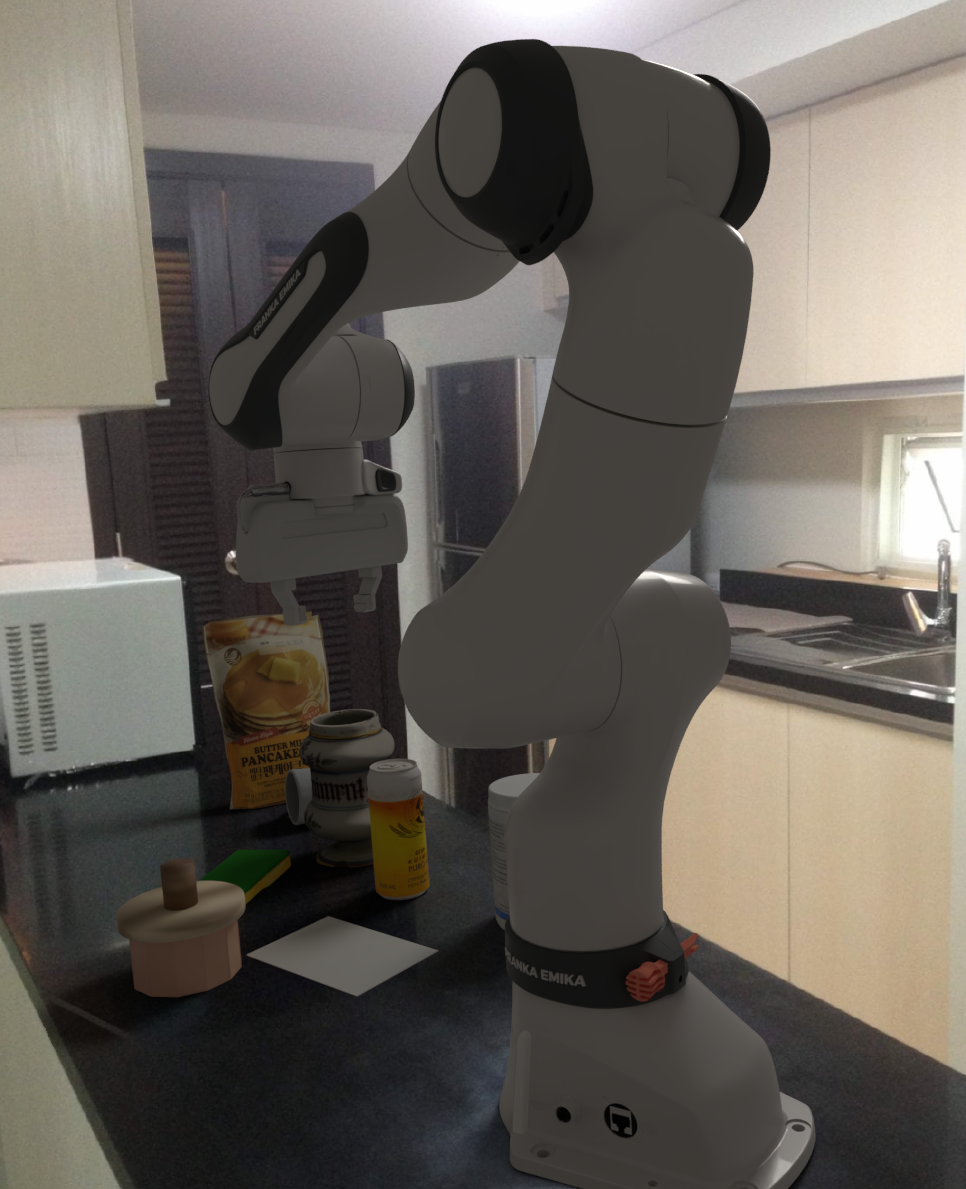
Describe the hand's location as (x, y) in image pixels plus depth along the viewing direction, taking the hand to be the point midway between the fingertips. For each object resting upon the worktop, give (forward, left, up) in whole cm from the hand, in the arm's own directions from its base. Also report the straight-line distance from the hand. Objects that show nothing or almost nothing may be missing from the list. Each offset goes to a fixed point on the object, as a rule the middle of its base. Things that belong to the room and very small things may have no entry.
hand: (331, 617), depth 109 cm
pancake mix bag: (+46, -28, -33) cm, 63 cm away
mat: (-3, +5, -33) cm, 34 cm away
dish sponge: (+22, -2, -34) cm, 40 cm away
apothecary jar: (+17, -16, -33) cm, 41 cm away
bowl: (+7, +16, -33) cm, 37 cm away
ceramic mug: (+34, -24, -33) cm, 54 cm away
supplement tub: (-15, -12, -33) cm, 39 cm away
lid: (+7, +16, -27) cm, 32 cm away
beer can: (+3, -10, -33) cm, 35 cm away
